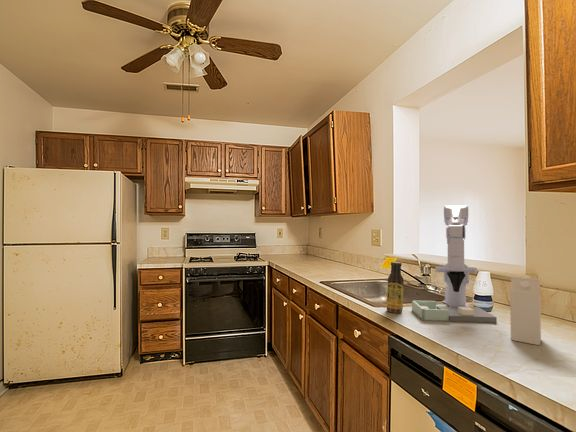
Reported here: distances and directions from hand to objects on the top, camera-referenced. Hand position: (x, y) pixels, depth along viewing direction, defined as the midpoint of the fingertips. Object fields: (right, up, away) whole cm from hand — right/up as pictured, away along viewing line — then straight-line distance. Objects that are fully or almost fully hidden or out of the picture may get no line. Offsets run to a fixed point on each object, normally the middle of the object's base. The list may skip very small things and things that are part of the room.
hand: (456, 291), depth 126 cm
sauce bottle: (-22, -10, +6) cm, 24 cm away
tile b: (+2, -7, -4) cm, 9 cm away
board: (+3, -9, -1) cm, 10 cm away
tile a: (-11, -7, +4) cm, 14 cm away
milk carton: (+8, -9, -26) cm, 28 cm away
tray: (-10, -9, 0) cm, 14 cm away
